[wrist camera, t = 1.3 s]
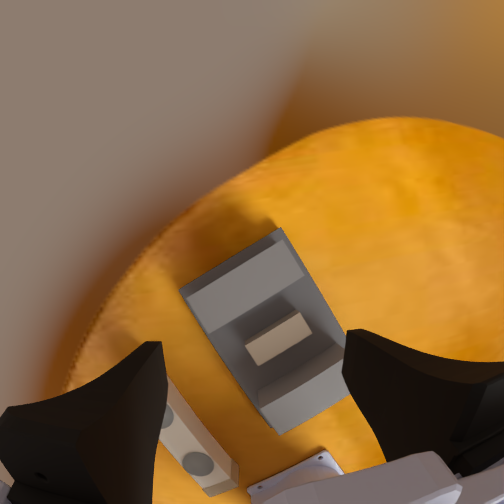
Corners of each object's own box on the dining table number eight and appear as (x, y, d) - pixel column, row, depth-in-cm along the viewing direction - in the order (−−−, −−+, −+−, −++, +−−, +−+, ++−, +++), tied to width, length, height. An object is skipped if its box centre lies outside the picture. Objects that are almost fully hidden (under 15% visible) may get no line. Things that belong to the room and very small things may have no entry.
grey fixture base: (360, 367, 27) (381, 384, 22) (269, 422, 26) (274, 449, 21) (279, 228, 27) (287, 220, 22) (180, 288, 27) (167, 293, 22)
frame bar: (212, 476, 26) (209, 497, 22) (129, 369, 26) (115, 382, 23) (239, 466, 26) (238, 487, 22) (155, 355, 27) (143, 366, 23)
